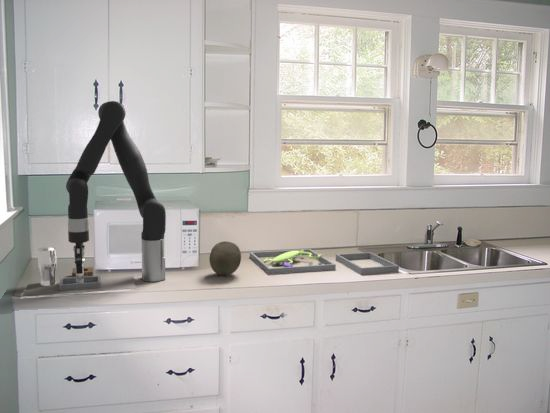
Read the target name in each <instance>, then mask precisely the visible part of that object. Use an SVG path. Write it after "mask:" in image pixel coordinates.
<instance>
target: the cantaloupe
mask: <svg viewBox="0 0 550 413" xmlns="http://www.w3.org/2000/svg"><path fill="white" fill-rule="evenodd" d="M208 261H209V264H210V268H211V269H212V271H213V272H214V273H215V274H216V275H218V276H221V277H227V276H229V275H232V274H234V273H235V272H236V271H237V270H238V269H239V267H240V265H241V261H242V253H241V249H240V247H239V246H238V245H237V244H236V243H234V242H232V241H220V242H218V243H216V244H215V245H214V246H213V247H212V248H211V251H210V254H209V260H208Z"/></svg>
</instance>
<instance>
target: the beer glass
mask: <svg viewBox="0 0 550 413" xmlns="http://www.w3.org/2000/svg"><path fill="white" fill-rule="evenodd" d="M37 265H38V266H37V267H38V270H39V274H40V286H42V287H43V286H45V287H47V286H53V285H56V284H57V279H56V272H57V265H58V255H57V248H56V247H54V246H46V247H45V246H44V247H40V248H38V249H37Z"/></svg>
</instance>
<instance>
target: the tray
mask: <svg viewBox="0 0 550 413" xmlns="http://www.w3.org/2000/svg"><path fill="white" fill-rule="evenodd" d="M101 279H102V278H101V275H93V276H85V277H84V283H76V277H72V276H70V277H60V279H59V283H58V291H68V290H69V291H70V290H71V291H73V290H85V289H100V288H101V283H102V282H101Z"/></svg>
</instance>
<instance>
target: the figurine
mask: <svg viewBox="0 0 550 413" xmlns="http://www.w3.org/2000/svg"><path fill="white" fill-rule="evenodd" d="M299 250H300V251H290V252H286V253H284V254H281V255H279V256H274V258H273V259H272V258H270V257H265V259H264V260H262V261H263V262H264V263H265V264H266V263H268V262H270V261H271V263H275V264H276V265H280V266H282V267H294V264H293V263H294V261H293V260H291V259H293V258H295V257H298V256H299V257H301V256H302V254H305V255H308V258H309V259H314V260H317V259H318V258H320V257H323V254H319V253H318V254H319V255H318V257H313V256H312V253H309V252H304V251H303V250H301V249H299ZM299 254H300V255H299Z"/></svg>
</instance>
